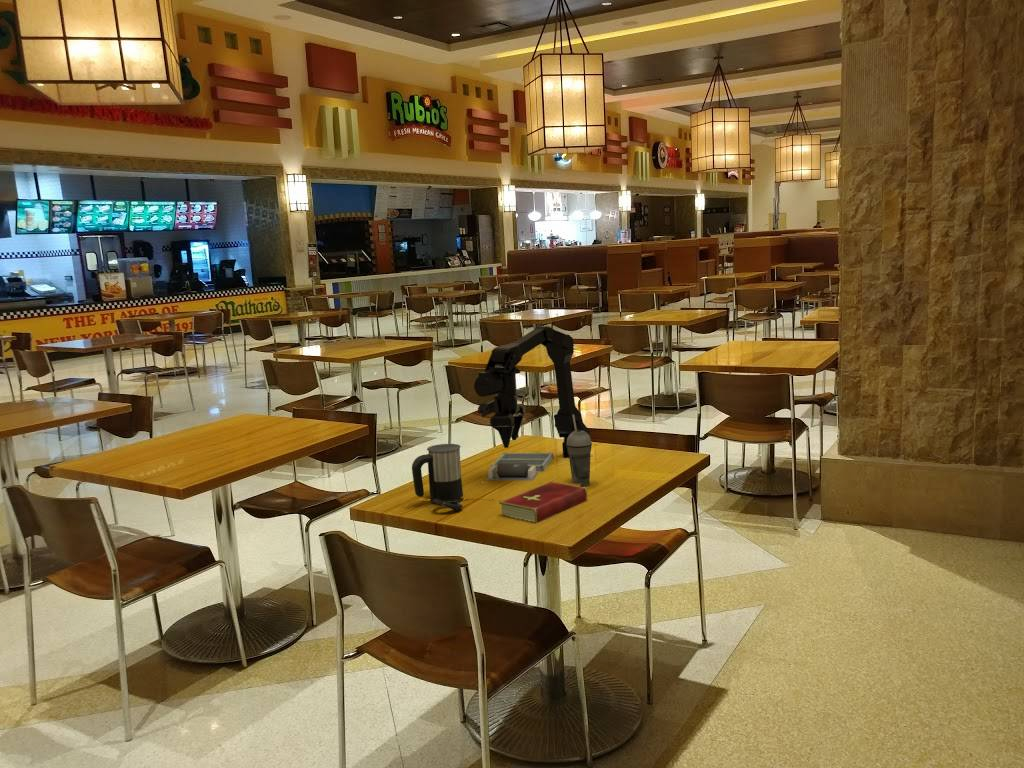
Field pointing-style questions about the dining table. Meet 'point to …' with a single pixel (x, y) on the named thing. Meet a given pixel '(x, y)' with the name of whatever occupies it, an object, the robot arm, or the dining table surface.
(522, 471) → the battery cell
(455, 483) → the milk frother
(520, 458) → the cell tray
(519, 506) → the hardcover book
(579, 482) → the beverage cup
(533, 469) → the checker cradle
